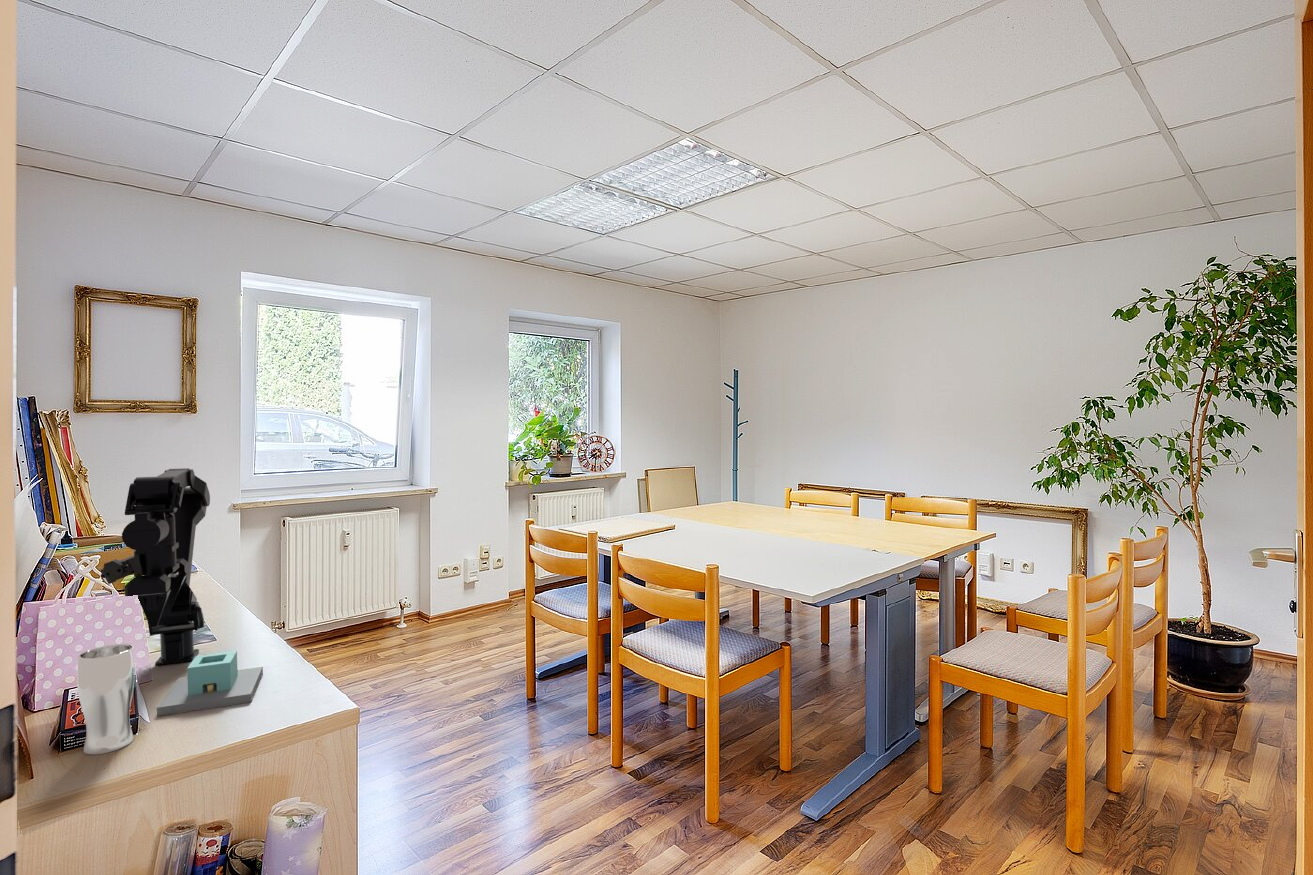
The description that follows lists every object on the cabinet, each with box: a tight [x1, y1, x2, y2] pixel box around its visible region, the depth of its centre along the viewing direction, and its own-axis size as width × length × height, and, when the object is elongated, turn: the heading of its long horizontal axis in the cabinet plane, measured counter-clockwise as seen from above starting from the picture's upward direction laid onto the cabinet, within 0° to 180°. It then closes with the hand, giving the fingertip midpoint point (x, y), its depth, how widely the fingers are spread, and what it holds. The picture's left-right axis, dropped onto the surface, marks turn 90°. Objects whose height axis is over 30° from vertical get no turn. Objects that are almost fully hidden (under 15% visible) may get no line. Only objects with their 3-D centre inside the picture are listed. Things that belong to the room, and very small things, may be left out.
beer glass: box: [76, 643, 136, 756], centre depth 104 cm, size 7×7×15 cm
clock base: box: [156, 666, 264, 717], centre depth 123 cm, size 14×14×6 cm
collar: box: [186, 650, 238, 695], centre depth 123 cm, size 7×7×5 cm
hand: (160, 619), depth 129 cm, fingers open, 9 cm apart
